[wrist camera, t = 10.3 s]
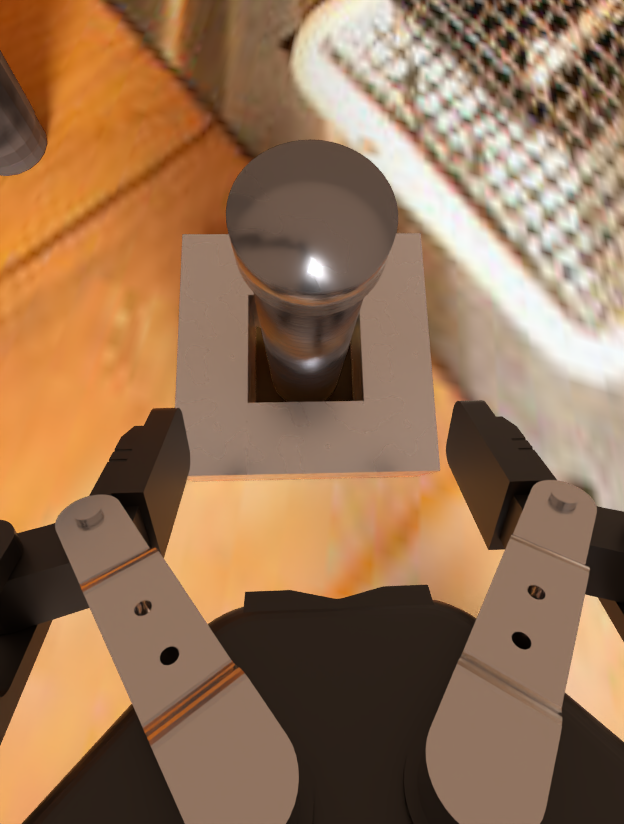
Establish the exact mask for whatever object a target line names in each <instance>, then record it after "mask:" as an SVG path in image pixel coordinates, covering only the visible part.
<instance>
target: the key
mask: <svg viewBox="0 0 624 824" xmlns="http://www.w3.org/2000/svg"><path fill="white" fill-rule="evenodd" d="M226 223H227V228H228V233H229V237H230V241H231V245H232V249H233V253H234V256H235V260H236V264H237V267H238V269H239V272H240V274H241V276H242V278H243V280H244V281H245V282H246V284H247V285H248V287H249V288H250V289H251V290H252V291H253V293H254V298H255V303H256V307H257V312H258V317H259V321H260V326H261V331H262V336H263V340H264V345H265V350H266V354H267V359H268V364H269V369H270V373H271V378H272V383H273V385H274V388H275V390H276V391H277V393H278V394H279V395H280V396H281V397H282V398H283V399H284V400H286V401H287V402H323V401H324V400H326V399H327V398H328V397H329V396H330V395H331V394H332V393H333V391H334V390H335V388H336V386H337V382H338V379H339V376H340V373H341V370H342V366H343V363H344V360H345V357H346V354H347V350H348V347H349V344H350V341H351V337H352V334H353V331H354V328H355V325H356V321H357V318H358V315H359V312H360V309H361V305H362V302H363V299H364V297H365V296H366V295H368V294H369V292H370V291H371V290H372V289H373V288H374V287H375V285H376V284H377V282H378V281H379V279H380V277H381V275H382V273H383V270H384V268H385V265H386V262H387V259H388V256H389V254H390V251H391V248H392V245H393V243H394V239H395V236H396V233H397V226H398V209H397V203H396V199H395V196H394V193H393V191H392V188H391V186H390V184H389V183H388V181H387V179H386V178H385V176H384V175H383V174H382V172H381V171H380V170H379V169H378V168H377V167H376V166H375V165H374V164H373V163H372V162H371V161H370V160H368V159H367V158H366V157H364V156H363V155H361V154H360V153H358V152H356V151H354V150H353V149H350V148H348V147H345V146H343V145H340V144H336V143H333V142H328V141H322V140H299V141H293V142H288V143H284V144H281V145H278V146H275V147H273V148H271V149H268V150H267V151H265V152H263V153H261V154H260V155H258V156H257V157H256V158H254V159H253V160H252V161H251V162H250V163H249V164H248V165H247V166H245V167H244V169H243V170H242V171H241V172H240V174H239V175H238V177H237V178H236V180H235V182H234V183H233V186H232V188H231V190H230V193H229V197H228V201H227V207H226Z"/></svg>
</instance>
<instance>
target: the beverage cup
mask: <svg viewBox="0 0 624 824" xmlns="http://www.w3.org/2000/svg"><path fill="white" fill-rule="evenodd" d="M46 145H47V140H46V133H45V132H44V130H43V128H42V126H41V125H40V123H39V121H38V119H37V117H36V115H35V112H34V110H33V108H32V106H31V104H30V102H29V101H28V99H27V97H26V95H25V94H24V92H23V90H22V88H21V86H20V85H19V83H18V81H17V79H16V77H15V76H14V74H13V72H12V70H11V69H10V67H9V65H8V63H7V61H6V60H5V58H4V56H3V54H2V53H1V51H0V175H3V176H9V175H16V174H20V173H22V172H24V171H27V170H29V169H30V168H32V167H33V166H34V165H35V164H36V163H38V162H39V160H40V159H41V157H42V156H43V154H44V153H45V149H46Z"/></svg>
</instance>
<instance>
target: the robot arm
mask: <svg viewBox="0 0 624 824" xmlns="http://www.w3.org/2000/svg"><path fill="white" fill-rule="evenodd" d="M446 455H447V461H448V464H449V466H450V468H451V471H452V473H453V475H454V477H455V479H456V481H457V483H458V486H459V488H460V490H461V492H462V494H463V496H464V498H465V501H466V503H467V505H468V507H469V509H470V511H471V513H472V516H473V518H474V520H475V522H476V524H477V526H478V529H479V531H480V533H481V535H482V537H483V539H484V541H485V544H486V546H487V548H488V550H499V549H505V551H504V554H503V556H502V559H501V561H500V563H499V566H498V568H497V571H496V573H495V575H494V578H493V580H492V583H491V585H490V588H489V590H488V592H487V595H486V597H485V600H484V602H483V604H482V607H481V609H480V612H479V614H478V617H477V619H476V618H475V617H473V616H472V615H470V614H468V613H467V612H465V611H463V610H461V609H459V608H457V607H454V606H452V605H450V604H447V603H443V602H440V601H436V600H432V597H431V594H430V590H429V587H428V585H410V586H385V587H380V588H377V589H373V590H370V591H366V592H363V593H359V594H356V595H352V596H349V597H345V598H341V599H333V598H328V597H323V596H318V595H313V594H307V593H302V592H297V591H292V590H283V591H257V592H245V601H244V607H241V608H238V609H235V610H233V611H230V612H228V613H226V614H224V615H222V616H220V617H218V618H216V619H215V620H213V621H212V622H210V623H209V624H207V623H206V621H205V620H204V618H203V617H202V615H201V614H200V612H199V611H198V609H197V608H196V606H195V605H194V603H193V602H192V600H191V599H190V597H189V596H188V594H187V593H186V591H185V590H184V588H183V587H182V585H181V584H180V582H179V581H178V579H177V578H176V576H175V575H174V573H173V572H172V570H171V569H170V567H169V566H168V564H167V563H166V561H165V560H164V555H165V552H166V549H167V545H168V542H169V538H170V535H171V532H172V528H173V525H174V521H175V518H176V515H177V511H178V508H179V504H180V501H181V498H182V494H183V491H184V487H185V484H186V481H187V477H188V474H189V470H190V449H189V444H188V439H187V434H186V429H185V424H184V419H183V414H182V411H181V409H180V408H155V409H152V410H151V412H150V414H149V416H148V418H147V420H146V422H145V425H144V426H134V427H133V428H132V429H130V430H129V431H128V432H127V433H126V434H124V435H123V436H122V437H121V439H120V440H119V442H118V444H117V446H116V448H115V452H113V453H112V455H111V457H110V459H109V462H107V464H106V466H105V468H104V470H103V472H102V473H101V475H100V477H99V479H98V481H97V483H96V484H95V486H94V488H93V490H92V492H91V494H90V495H89V496H88V497H85V498H82V499H79V500H77V501H75V502H74V503H72V504H70V505H69V506H68V507H66V508H65V509H64V510H63V511H62V512H61V513H60V515H59V516H58V518H57V520H56V523H54V524H51V525H47V526H44V527H40V528H36V529H32V530H28V531H25V532H21V533H16V531H15V529H14V527H13V526H12V525H11V524H10V523H9V522H7V521H4V520H0V745H1V742H2V740H3V737H4V735H5V733H6V730H7V728H8V725H9V723H10V721H11V718H12V716H13V713H14V711H15V709H16V706H17V704H18V701H19V699H20V697H21V694H22V692H23V689H24V687H25V685H26V682H27V680H28V677H29V675H30V673H31V670H32V668H33V666H34V663H35V661H36V658H37V656H38V654H39V651H40V649H41V646H42V644H43V642H44V639H45V637H46V634H47V632H48V630H49V627H50V625H51V622H52V620H53V619H56V618H59V617H62V616H65V615H68V614H72V613H75V612H78V611H81V610H84V609H87V608H90V610H91V612H92V614H93V616H94V619H95V621H96V623H97V625H98V628H99V630H100V632H101V634H102V637H103V639H104V641H105V643H106V646H107V648H108V650H109V653H110V655H111V657H112V659H113V662H114V664H115V666H116V668H117V671H118V673H119V675H120V677H121V680H122V682H123V684H124V686H125V689H126V691H127V693H128V695H129V698H130V700H131V702H132V704H131V705H130V706H129V707H128V708H127V710H126V711H125V712H124V713H123V714H122V715H121V716H120V717H119V718H118V719H117V720H116V722H115V723H114V724H113V725H112V726H111V727H110V728H109V729H108V730H107V731H106V732H105V734H104V735H103V736H102V737H101V738H100V739H99V740H98V741H97V742H96V743H95V744H94V746H93V747H92V748H91V749H90V750H89V751H88V752H87V753H86V754H85V755H84V756H83V758H82V759H81V760H80V761H79V762H78V763H77V764H76V765H75V766H74V767H73V768H72V769H71V771H70V772H69V773H68V774H67V775H66V776H65V777H64V778H63V779H62V780H61V781H60V783H59V784H58V785H57V786H56V787H55V788H54V789H53V790H52V791H51V792H50V793H49V795H48V796H47V797H46V798H45V799H44V800H43V801H42V802H41V803H40V804H39V805H38V807H37V808H36V809H35V810H34V811H33V812H32V813H31V814H30V815H29V816H28V817H27V819H26V820H25V821H24V822H23V823H22V824H624V742H623V741H622V740H621V739H619V738H618V737H617V736H616V735H615V734H613V733H612V732H611V731H610V730H609V729H608V728H606V727H605V726H604V725H603V724H602V723H600V722H599V721H598V720H597V719H596V718H595V717H593V716H592V715H591V714H590V713H589V712H587V711H586V710H585V709H584V708H583V707H582V706H580V705H579V704H578V703H577V702H576V701H574V700H573V699H572V698H571V697H570V696H569V695H567V694H566V693H565V689H566V684H567V679H568V674H569V669H570V665H571V660H572V655H573V650H574V645H575V640H576V635H577V631H578V626H579V621H580V616H581V611H582V606H583V601H584V597H585V594H586V595H590V596H595V597H598V598H599V600H600V602H601V604H602V605H603V607H604V609H605V610H606V612H607V614H608V616H609V617H610V619H611V621H612V622H613V624H614V626H615V628H616V629H617V631H618V633H619V634H620V636H621V638H622V640H623V641H624V512H622V511H617V510H612V509H607V508H602V507H597V506H596V504H595V502H594V501H593V499H592V498H591V497H590V496H589V495H588V494H587V493H586V492H584V491H583V490H581V489H580V488H578V487H576V486H574V485H571V484H569V483H566V482H562V481H557V479H556V478H555V477H554V475H553V474H552V473H551V471H550V470H549V469H548V468H547V466H546V465H545V464H544V462H543V461H542V460H541V458H540V457H539V456H538V454H537V453H536V452H535V450H533V449H532V446H531V445H530V444H529V442H528V441H527V440H525V437H524V436H523V434H522V433H521V432H520V430H519V429H518V428H517V426H515V425H514V424H512V423H511V422H509V421H508V420H506V419H505V418H503V417H496V416H495V415H494V414H493V412H492V411H491V409H490V408H489V406H488V405H487V404H486V402H485V401H483V400H480V401H457V402H456V403H455V405H454V408H453V413H452V418H451V423H450V428H449V434H448V439H447V444H446Z"/></svg>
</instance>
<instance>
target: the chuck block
mask: <svg viewBox="0 0 624 824" xmlns="http://www.w3.org/2000/svg"><path fill="white" fill-rule="evenodd" d="M256 327H261V326H260V321H259V317H258V312H257V307H256V303H255V298H254V293H253V291H252V290H251V289H250V288H249V287H248V285H247V284H246V282H245V281H244V280H243V278H242V276H241V274H240V272H239V269H238V267H237V264H236V260H235V256H234V253H233V249H232V245H231V241H230V237H229V234H182V258H181V282H180V305H179V329H178V353H177V377H176V401H175V408H180V409H181V411H182V414H183V419H184V424H185V429H186V434H187V439H188V444H189V449H190V470H189V474H188V477H187V480H190V481H234V480H280V479H327V478H373V477H417V476H421V475H425V474H429V473H433V472H437V471H440V463H439V451H438V439H437V427H436V415H435V402H434V390H433V378H432V366H431V354H430V342H429V330H428V318H427V305H426V293H425V281H424V269H423V257H422V245H421V233H396V236H395V239H394V243H393V245H392V248H391V251H390V254H389V256H388V259H387V262H386V265H385V268H384V270H383V273H382V275H381V277H380V279H379V281H378V282H377V284H376V285H375V287H374V288H373V289H372V290H371V291H370V292H369V294H368V295H366V296H365V297H364V299H363V302H362V305H361V309H360V312H359V315H358V318H357V321H356V325H355V328H354V331H353V334H352V337H351V341H350V342H351V366H352V389H353V401H326V402H264V403H256Z"/></svg>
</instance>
